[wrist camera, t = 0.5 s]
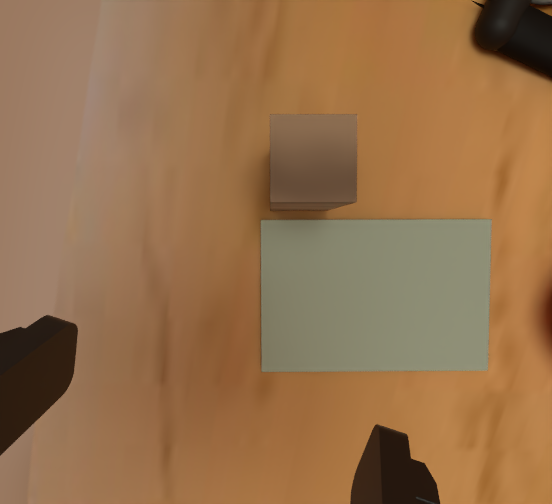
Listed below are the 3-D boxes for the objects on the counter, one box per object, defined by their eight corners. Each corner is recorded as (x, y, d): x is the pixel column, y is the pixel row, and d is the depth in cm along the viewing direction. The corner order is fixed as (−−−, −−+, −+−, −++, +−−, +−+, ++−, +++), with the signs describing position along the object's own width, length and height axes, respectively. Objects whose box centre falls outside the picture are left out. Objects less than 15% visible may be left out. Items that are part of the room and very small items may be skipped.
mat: (261, 220, 35) (260, 219, 35) (487, 219, 35) (491, 219, 35) (261, 369, 36) (261, 372, 35) (484, 368, 36) (487, 370, 35)
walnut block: (270, 152, 35) (269, 114, 23) (327, 152, 35) (357, 114, 23) (270, 210, 35) (270, 202, 23) (327, 210, 35) (356, 201, 23)
